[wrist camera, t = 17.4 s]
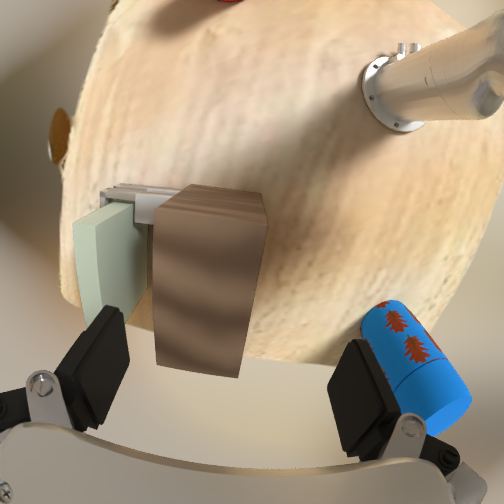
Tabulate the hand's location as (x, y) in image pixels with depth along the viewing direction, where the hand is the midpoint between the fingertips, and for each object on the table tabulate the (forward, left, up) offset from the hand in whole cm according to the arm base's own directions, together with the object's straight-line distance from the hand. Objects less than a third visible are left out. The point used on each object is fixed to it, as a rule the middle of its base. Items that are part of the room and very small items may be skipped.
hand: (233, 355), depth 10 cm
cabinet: (+8, -9, -30) cm, 32 cm away
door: (+9, -16, -30) cm, 35 cm away
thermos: (+18, +30, -31) cm, 46 cm away
